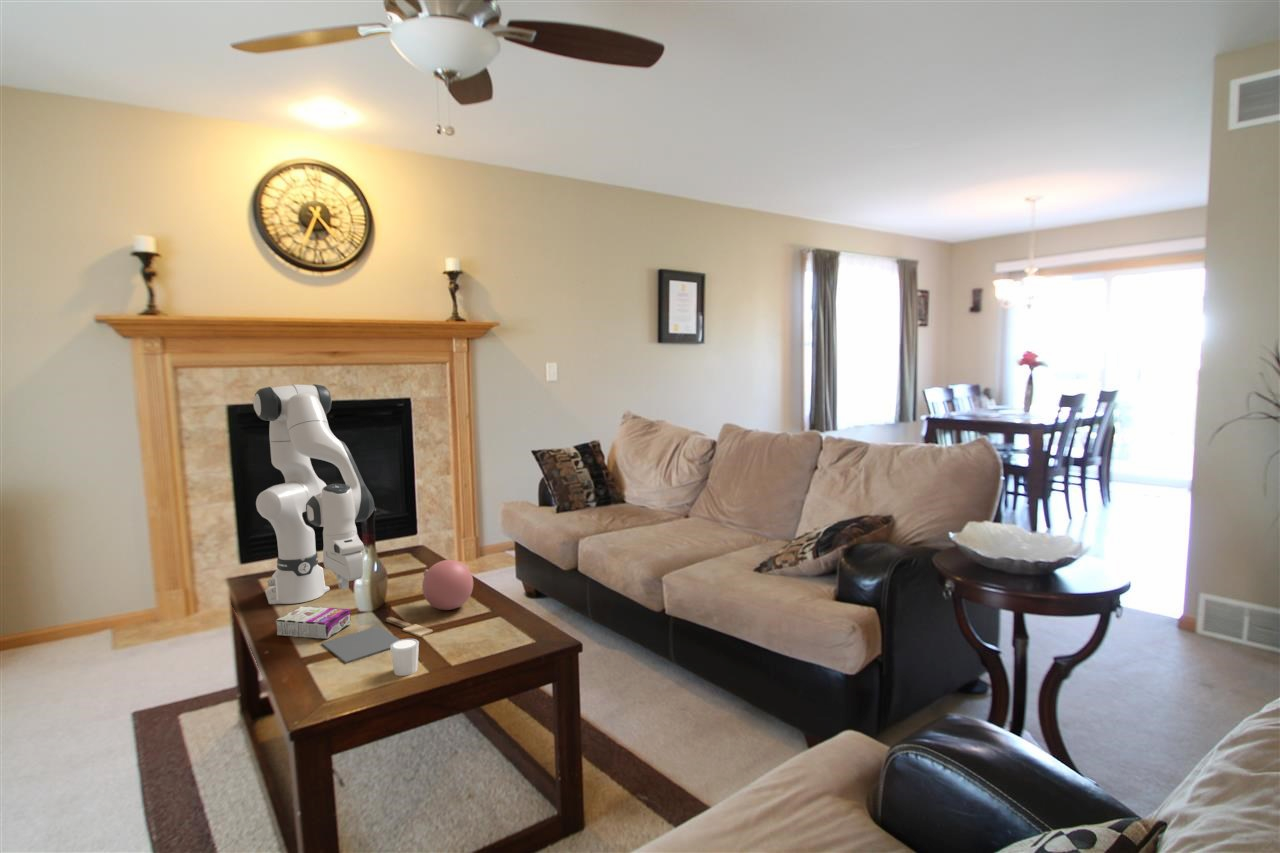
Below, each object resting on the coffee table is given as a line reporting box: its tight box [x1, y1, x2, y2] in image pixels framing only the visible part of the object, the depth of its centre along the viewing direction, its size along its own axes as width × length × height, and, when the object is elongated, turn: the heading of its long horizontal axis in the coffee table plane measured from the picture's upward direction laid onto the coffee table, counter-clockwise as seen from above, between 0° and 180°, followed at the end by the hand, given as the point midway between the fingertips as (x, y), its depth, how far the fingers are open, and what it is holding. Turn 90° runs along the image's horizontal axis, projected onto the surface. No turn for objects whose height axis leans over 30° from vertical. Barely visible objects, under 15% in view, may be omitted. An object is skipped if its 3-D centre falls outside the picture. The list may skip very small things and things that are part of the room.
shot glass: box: [390, 638, 420, 677], centre depth 166 cm, size 7×7×7 cm
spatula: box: [385, 616, 434, 638], centre depth 193 cm, size 18×4×1 cm, turn 55°
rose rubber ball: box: [421, 559, 474, 611], centre depth 209 cm, size 15×20×15 cm
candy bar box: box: [275, 605, 352, 640], centre depth 192 cm, size 11×5×16 cm
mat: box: [321, 625, 401, 664], centre depth 182 cm, size 17×16×1 cm
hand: (343, 588), depth 189 cm, fingers closed
